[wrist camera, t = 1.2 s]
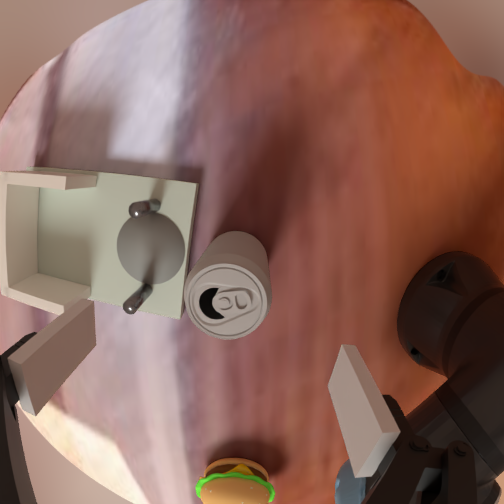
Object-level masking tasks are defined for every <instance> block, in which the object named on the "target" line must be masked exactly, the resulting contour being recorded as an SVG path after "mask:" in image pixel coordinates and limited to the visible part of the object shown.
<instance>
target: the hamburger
mask: <svg viewBox="0 0 504 504" xmlns="http://www.w3.org/2000/svg"><path fill="white" fill-rule="evenodd" d="M268 480H269V477H268V473H267V472H266V470H265V469H264V468H263V467H262V466H261V465H259V464H258V463H256V462H254V461H251V460H248V459H243V458H224V459H220V460H217V461H215V462H213V463H211V464H210V465H209V466H208V467H207V468H206V470H205V472H204V477H202V476H200V477H199V481H198V483H197V485H196V493H197V496H198V497H200V498H201V500H202V502H203V504H268V503H269V502H271V501H273V499H274V496H275V491H274V488H273V486H272V485H271V483H269V482H268Z"/></svg>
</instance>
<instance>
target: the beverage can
mask: <svg viewBox="0 0 504 504" xmlns="http://www.w3.org/2000/svg"><path fill="white" fill-rule="evenodd" d="M184 300H185V304H186V309H187V312H188V315H189V317H190V319H191V320H192V322H193V323H194V324H195V325H196V326H197V327H198V328H199V329H200V330H201V331H203V332H204V333H206V334H208V335H210V336H212V337H215V338H219V339H237V338H240V337H243V336H246V335H248V334H249V333H251V332H252V331H254V330H255V329H256V328H257V327H258V326H259V325H260V323H261V322H262V321H263V320H264V319H265V317H266V316H267V314H268V312H269V309H270V306H271V301H272V290H271V282H270V274H269V267H268V259H267V254H266V251H265V249H264V247H263V245H262V244H261V243H260V241H259V240H258V239H256V238H255V237H254V236H252V235H250V234H248V233H245V232H241V231H230V232H226V233H223V234H221V235H219V236H218V237H216V238H215V239H214V240H213V241H212V242H211V244H210V245H209V246H208V248H207V249H206V251H205V252H204V253H203V255H202V256H201V257H200V259H199V260H198V262H197V263H196V264H195V266H194V267H193V269H192V270H191V271H190V273H189V275H188V277H187V280H186V283H185V286H184Z"/></svg>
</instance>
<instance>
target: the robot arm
mask: <svg viewBox="0 0 504 504" xmlns="http://www.w3.org/2000/svg"><path fill="white" fill-rule="evenodd" d="M397 331H398V337H399V340H400V342H401V345H402V347H403V348H404V349H405V351H406V352H407V353H408V355H409V356H410V357H411V358H412V359H413V360H414V361H415V362H416V363H417V364H419V365H421V366H423V367H425V368H427V369H429V370H432V371H434V372H436V373H439V374H441V375H443V376H445V377H447V378H448V380H447V381H446V382H445V383H444V384H442V385H441V386H440V387H439V388H438V389H437V390H436V391H435V392H434V393H432V394H431V395H430V396H429V397H428V398H427V399H426V400H425V401H423V402H422V403H421V404H420V405H419V406H418V407H416V408H415V409H414V410H413V411H412V412H410V413H409V414H408V415H407V416H404V414H403V412H402V410H401V408H400V406H399V405H398V403H397V401H396V400H395V399H393V398H392V397H391V396H390V395H381V393H380V391H379V389H378V387H377V385H376V383H375V381H374V379H373V377H372V376H371V374H370V372H369V370H368V368H367V366H366V364H365V362H364V361H363V359H362V357H361V355H360V353H359V351H358V350H357V348H356V346H355V345H345V344H342V345H341V348H340V351H339V355H338V358H337V361H336V363H335V366H334V369H333V372H332V375H331V378H330V381H329V384H328V389H329V392H330V395H331V399H332V402H333V405H334V408H335V412H336V415H337V418H338V422H339V425H340V428H341V432H342V435H343V438H344V442H345V445H346V448H347V452H348V455H349V459H348V460H347V461H346V462H345V463H344V464H343V465H342V467H341V468H340V470H339V473H338V475H337V478H336V483H335V503H336V504H498V502H499V499H500V496H501V488H500V486H499V485H498V483H497V482H496V480H495V478H496V477H498V476H499V475H500V474H501V473H502V472H503V471H504V285H503V284H502V282H501V281H500V280H499V278H498V277H497V276H496V275H495V273H494V272H493V271H492V269H491V268H490V267H489V266H488V265H487V264H486V263H485V262H484V261H483V260H481V259H479V258H477V257H475V256H473V255H471V254H468V253H465V252H449V253H445V254H443V255H440V256H438V257H436V258H435V259H433V260H432V261H430V262H429V263H428V264H426V265H425V266H424V267H423V268H422V269H421V270H420V271H419V272H418V273H417V275H416V276H415V277H414V278H413V280H412V281H411V283H410V284H409V286H408V288H407V290H406V292H405V294H404V296H403V298H402V301H401V304H400V307H399V312H398V318H397ZM95 346H96V334H95V314H94V301H91V300H87V299H83V298H82V299H81V300H79V301H78V302H77V303H75V304H74V305H73V306H71V307H70V308H69V309H68V310H66V311H65V312H64V313H62V314H61V315H60V316H58V317H57V318H56V319H55V320H53V321H52V322H51V323H50V324H48V325H47V326H46V327H45V328H43V329H42V330H41V331H40V332H38V333H36V332H33V333H30V334H28V335H26V336H24V337H23V338H22V339H20V340H19V341H18V342H17V343H15V344H14V345H13V346H12V347H10V348H9V349H8V350H7V351H5V352H4V353H3V354H2V355H1V356H0V504H37V502H36V499H35V495H34V492H33V488H32V485H31V481H30V478H29V473H28V469H27V465H26V461H25V456H24V452H23V446H22V441H21V435H20V429H19V423H18V416H17V409H16V407H15V404H16V403H17V402H18V401H19V400H20V404H21V406H22V409H23V410H24V411H26V412H28V413H30V414H32V415H34V416H36V415H37V414H38V413H39V412H40V410H41V409H42V408H43V407H44V406H45V404H46V403H47V402H48V401H49V399H50V398H51V397H52V396H53V395H54V393H55V392H56V391H57V390H58V389H59V388H60V386H61V385H62V384H63V383H64V382H65V380H66V379H67V378H68V377H69V376H70V375H71V373H72V372H73V371H74V370H75V369H76V368H77V366H78V365H79V364H80V363H81V362H82V361H83V360H84V358H85V357H86V356H87V355H88V354H89V353H90V352H91V350H92V349H93V348H94V347H95Z"/></svg>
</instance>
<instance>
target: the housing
mask: <svg viewBox="0 0 504 504" xmlns="http://www.w3.org/2000/svg"><path fill="white" fill-rule="evenodd" d="M96 180H97V176H94V175H84V174H73V173H61V172H48V171H33V170H31V171H4V172H0V287H1V295H4V296H7V297H9V298H12V299H14V300H17V301H20V302H23V303H25V304H28V305H31V306H34V307H37V308H40V309H43V310H45V311H48V312H51V313H55V314H58V315H61V314H62V313H64V312H65V311H66V310H68V309H69V308H70V307H71V306H73V305H74V304H75V303H77V302H78V301H79V300H81V299H82V298H83V299H88V298H89V297H90V296H91V286H87V285H83V284H79V283H75V282H71V281H67V280H63V279H59V278H56V277H52V276H48V275H45V274H41V273H38V257H37V228H38V203H39V189H40V187H43V188H52V189H61V190H69V189H79V188H90V187H96Z"/></svg>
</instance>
